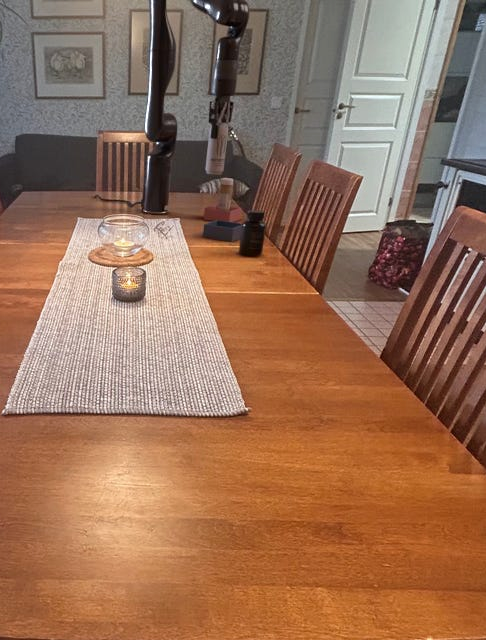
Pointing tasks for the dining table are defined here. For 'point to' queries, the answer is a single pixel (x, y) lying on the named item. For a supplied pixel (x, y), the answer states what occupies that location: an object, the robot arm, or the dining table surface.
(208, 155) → the energy drink can
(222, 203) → the sprinkles bottle
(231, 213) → the rose bin
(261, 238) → the supplement bottle
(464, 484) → the dining table surface
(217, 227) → the slate bin
